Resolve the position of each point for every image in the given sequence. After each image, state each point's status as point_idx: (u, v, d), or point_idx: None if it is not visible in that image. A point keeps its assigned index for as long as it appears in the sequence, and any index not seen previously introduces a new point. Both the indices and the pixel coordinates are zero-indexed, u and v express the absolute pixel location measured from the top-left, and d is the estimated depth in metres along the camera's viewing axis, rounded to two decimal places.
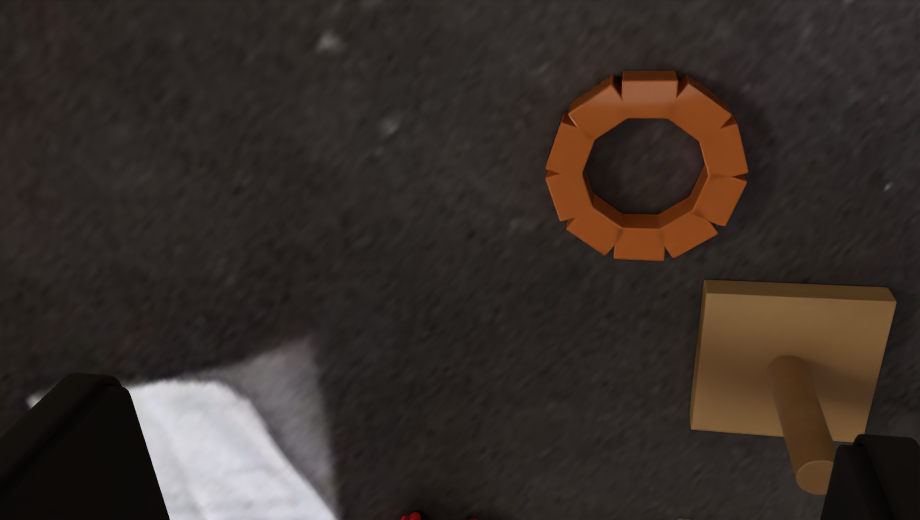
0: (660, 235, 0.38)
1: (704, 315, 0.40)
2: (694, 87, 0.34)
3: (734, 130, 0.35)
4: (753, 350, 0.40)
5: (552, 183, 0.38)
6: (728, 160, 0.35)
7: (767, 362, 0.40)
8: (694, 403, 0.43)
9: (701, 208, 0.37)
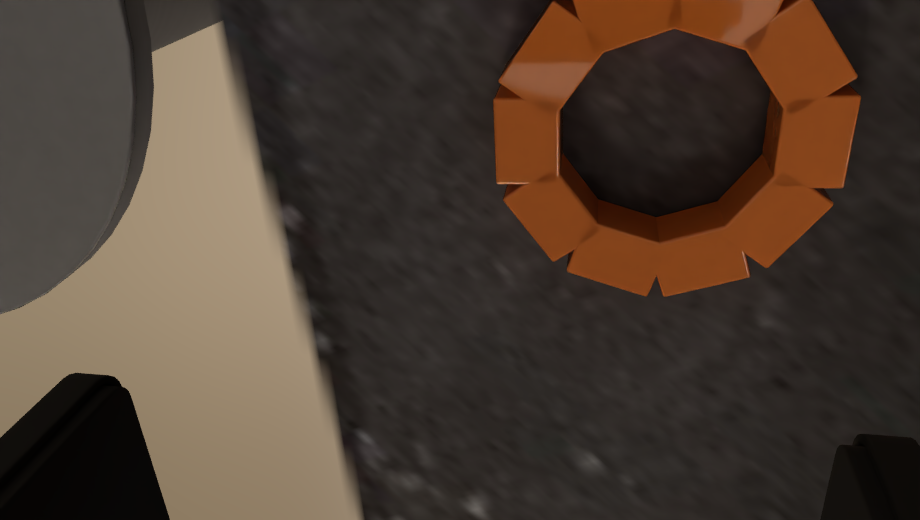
0: (798, 106, 0.19)
1: None
2: (505, 70, 0.20)
3: None
4: None
5: (674, 287, 0.22)
6: None
7: None
8: None
9: (743, 34, 0.19)
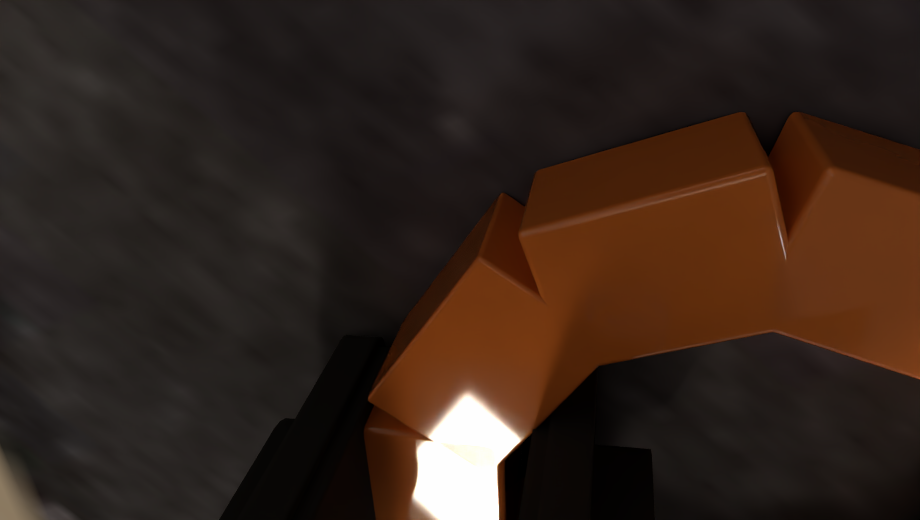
0: None
1: None
2: (382, 379, 0.09)
3: (547, 245, 0.08)
4: None
5: None
6: (695, 259, 0.07)
7: None
8: None
9: None
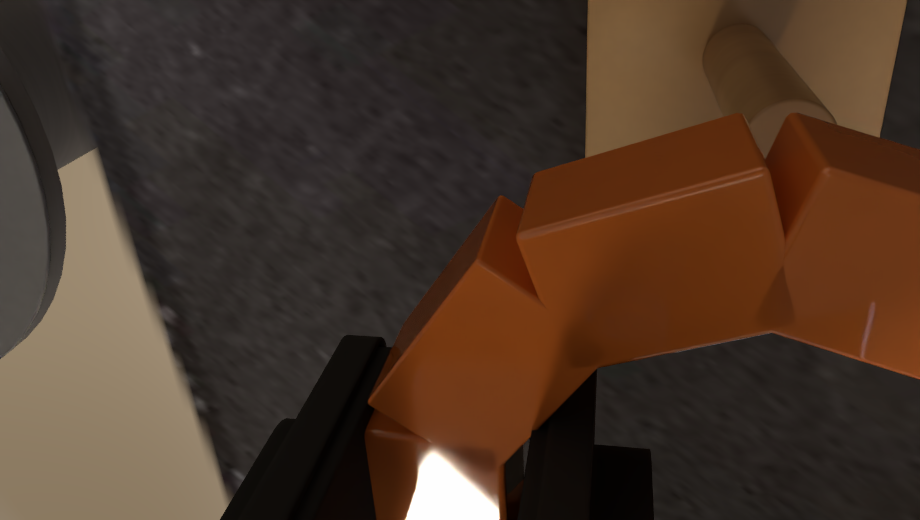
0: None
1: None
2: (381, 382, 0.09)
3: (545, 247, 0.08)
4: (693, 114, 0.24)
5: None
6: (692, 260, 0.07)
7: None
8: None
9: None
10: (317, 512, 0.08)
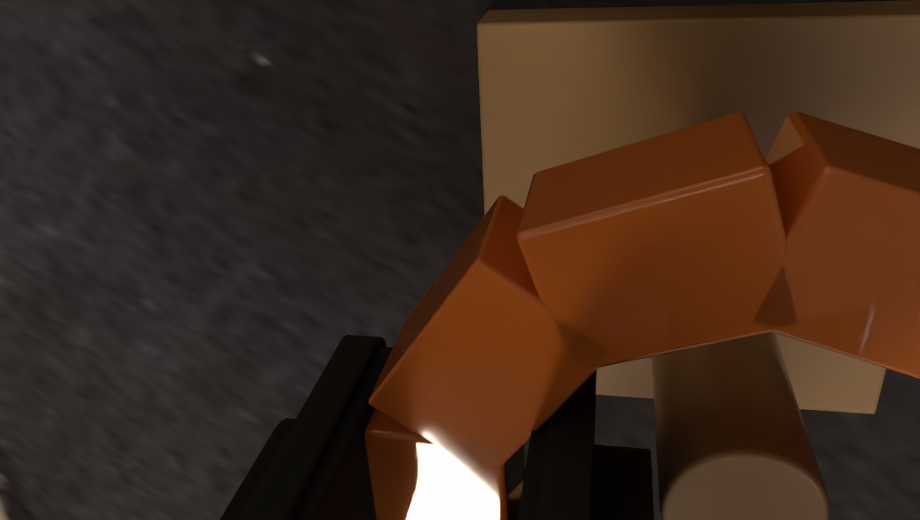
0: None
1: None
2: (382, 382, 0.09)
3: (546, 247, 0.08)
4: None
5: None
6: (693, 260, 0.07)
7: None
8: None
9: None
10: (317, 512, 0.08)
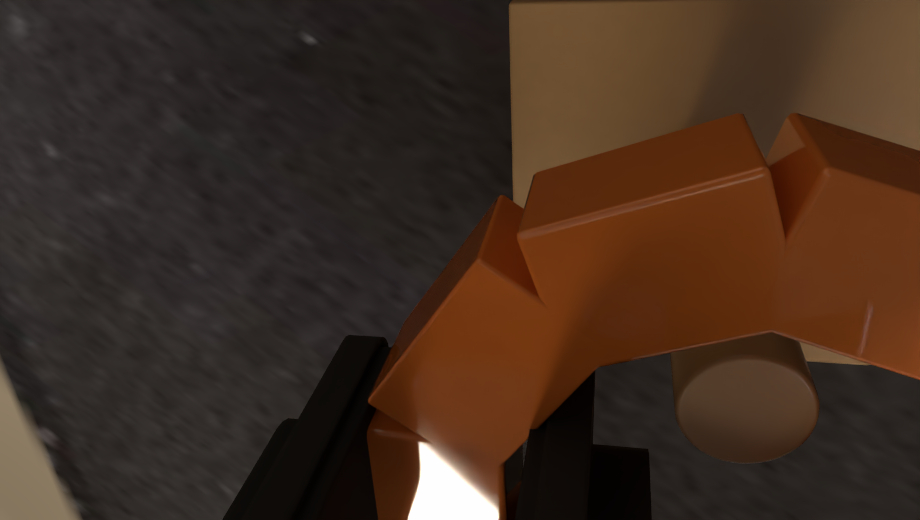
0: None
1: None
2: (382, 381, 0.09)
3: (545, 247, 0.08)
4: None
5: None
6: (693, 260, 0.07)
7: None
8: None
9: None
10: (320, 513, 0.08)
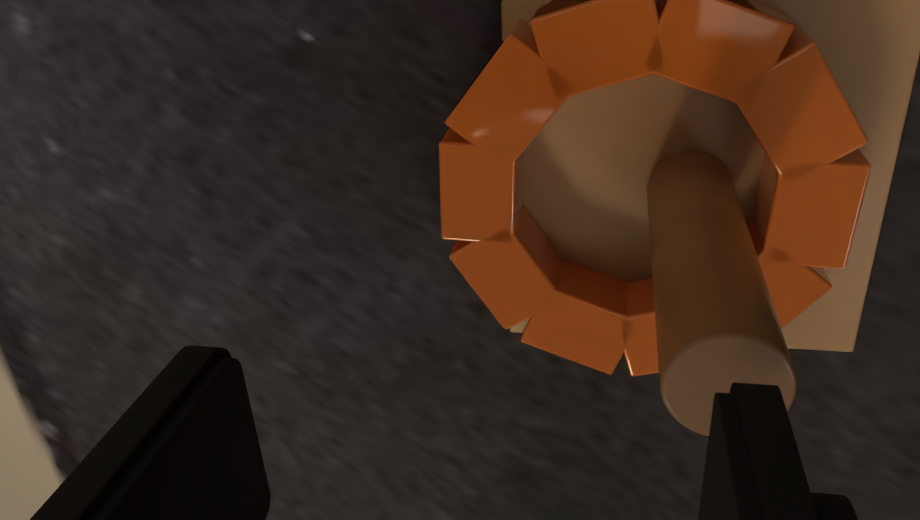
0: (796, 173, 0.16)
1: None
2: (453, 110, 0.17)
3: (544, 25, 0.16)
4: (636, 251, 0.20)
5: (643, 366, 0.19)
6: (615, 32, 0.15)
7: None
8: None
9: (735, 85, 0.15)
10: None
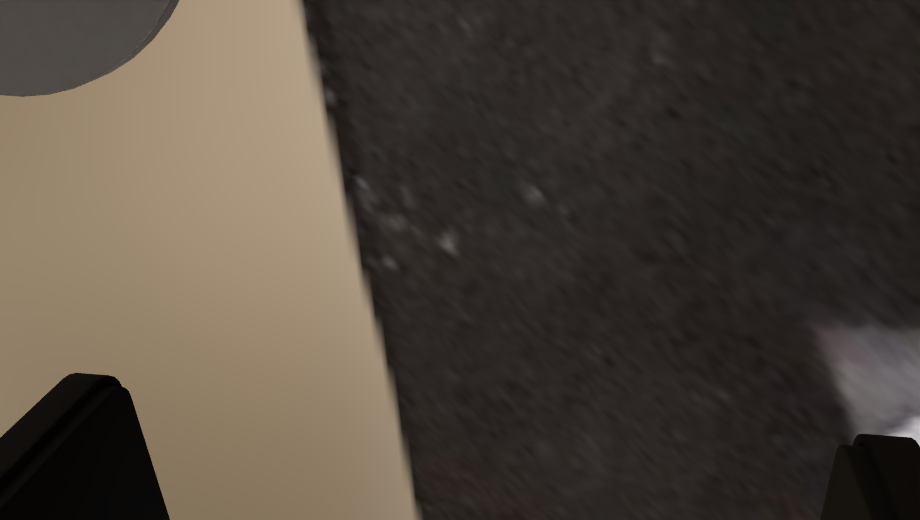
0: None
1: None
2: None
3: None
4: None
5: None
6: None
7: None
8: None
9: None
10: None
